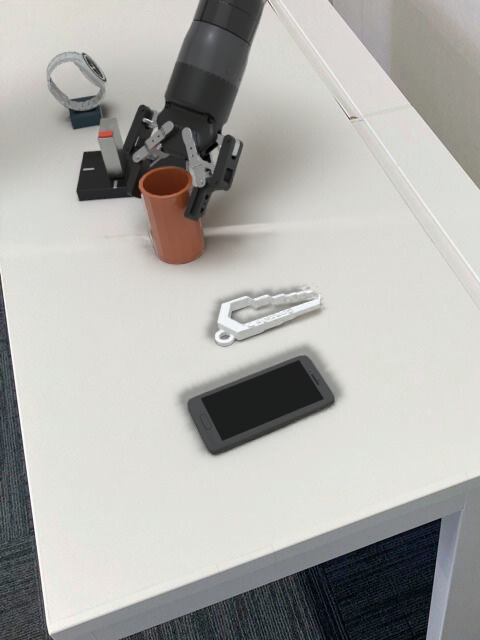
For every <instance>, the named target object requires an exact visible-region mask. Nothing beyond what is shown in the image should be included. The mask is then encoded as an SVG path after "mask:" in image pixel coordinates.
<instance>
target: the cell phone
mask: <svg viewBox="0 0 480 640" xmlns="http://www.w3.org/2000/svg"><path fill="white" fill-rule="evenodd" d="M335 398H336V397H335V395H334V393H333V391H332V390H331V387H329V385H328V384H327V382H326V380H325V378H323V376H322V374H321V373H320V371H319V369H318V368H317V367H316V365H315V364H314V362H313V361H312V359H311V358H310V357H309V356H308V355H306V354H303V355H302V354H301V355H297V356H295V357H291V358H289V359H287V360H284V361H282V362H279V363H276V364H274V365H272V366H269V367H266V368H264V369H261V370H258V371H256V372H253V373H251V374H248V375H246V376H244V377H241V378H238V379H235V380H233V381H231V382H228V383H225V384H223V385H220V386H217V387H215V388H213V389H210V390H208V391H205V392H202V393H200V394H198V395H195V396H192V397H191V398H189V399H188V401H187V409H188V412H189V413H190V414H189V415H190V416H191V418H192V420H193V422H194V424H195V426H196V428H197V430H198V432H199V434H200V437H201V439H202V440H203V442H204V444H205V447H206V449H207V450H208V451H209V452H210V453H211V454H213V455H214V454H219V453H222V452H224V451H228V450H229V449H232V448H234V447H236V446H239V445H242V444H244V443H246V442H248V441H251V440H253V439H255V438H258V437H261V436H263V435H265V434H268V433H270V432H272V431H275V430H277V429H280V428H283V427H284V426H287V425H289V424H292V423H294V422H296V421H299V420H301V419H303V418H306V417H309V416H310V415H313V414H316V413H318V412H320V411H323V410H326V409H327V408H329V407H331V406H332V405H333V404H334V403H335V400H336V399H335Z"/></svg>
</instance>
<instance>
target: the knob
mask: <svg viewBox="0 0 480 640" xmlns="http://www.w3.org/2000/svg"><path fill="white" fill-rule="evenodd" d="M97 133H98V134H97V142H98V145H99V150H101V153H102V156H103V160H104V163H105V167H106V170H107V173H108V177H109V178H121V177H124V175H125V165H126V153H125V152H124V151H123V145H124V141H123V138H122V133H121V131H120V127H119V123H118V119H117V117H103V118H101V120H100V125H99V127H98V132H97Z"/></svg>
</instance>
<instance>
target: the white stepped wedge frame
mask: <svg viewBox="0 0 480 640" xmlns="http://www.w3.org/2000/svg"><path fill="white" fill-rule="evenodd" d="M305 297H306V298H311V297H316V298H315V299H312V300H310V301H306V302H303V303H301V304H299V305H298V304H297V305H295V306H292V307H289V308H286V309H284V310H281V311H278V312H275V313H272V314H269V315H266V316H264V317H263V316H262V317H260V318H257V319H254V320H252V321H249V322H245V323H240V322H239V321H236V320H235V319H233V318H232V315H233V312H235V311H237V310H240V309H243V308H247V307H249V306H250V307H252V308H254V309H256V310H258V308H259V307H262V306H265V305H268V304H271V305H273V306H277V304H279V303H282V302H287V303H290V302H291V301H293V300H295V299H302V298H305ZM321 302H322V294H321V293H319V292H317V291H314V290H312V289H308V290H305V291H304V290H300V291H297V292H295V291H293V292H290V293H288V294H285V293H283V292H282V293H280V294H276V295H274V296H271V295H270V294H267V293H266V294H263V295H261V296H258V297H255V298H251V297H249V295H248V296H247V295H244V296H241V297H237V298H235V299H232V300H229V301H227V302H223V303H221V306H220V310H219V314H218V318H217V320H216V321H217V322H216V323H217V328H218V330H217V331H216V332H215V334H214V340H215V344H216V345H218V346H220V347H228V346H231V345H232V344H234V343H235V341H236V340H237V341H242V340H244V339H247V338H251V337H253V336H256V335H258V334H261V333H264V331H267V330H269V329H272V328H275V327H277V326H280V325H282V324H283V323H285V322H289V321H290V320H293V319H296V317H298V316H301V315H304V314H306V313H310V312H312V311H315V310H318V309H320V308H321ZM224 336H228V338H227V339H222V337H224Z"/></svg>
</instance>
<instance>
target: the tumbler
mask: <svg viewBox="0 0 480 640" xmlns="http://www.w3.org/2000/svg"><path fill="white" fill-rule="evenodd" d="M194 186H195V182H194V177H193V175H192V174H191V172H190V171H189V170H188V171H187V170H185V169H183V168H181V167H175V166H165V167H159V168H156V169H153V170H151V171H149V172H147V173H146V174H144V175H143V177H142V178H141V179H140V181H139V190H140V194H141V202H142V206H143V210H144V213H145V217H146V220H147V225H148V228H149V232H150V237H151V240H152V244H153V248H154V251H155V254H156V255H157V258H159V259H160V260H161V261H162V262H165V263H167V264H170V265H171V264H172V265H182V264H183V265H184V264H187V263H191V262H192V261H195V260H197V259H198V258H199V257H201V255H202V254H203V253H204V251H205V249H206V242H205V235H204V230H203V229H204V228H203V225H202V218H199V220H198V221H193V220H190V219H187V218H185V217H184V212H185V209H186V206H187V204H188V201H189V198H190V195H191V192H192V189H193V187H194Z"/></svg>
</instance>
